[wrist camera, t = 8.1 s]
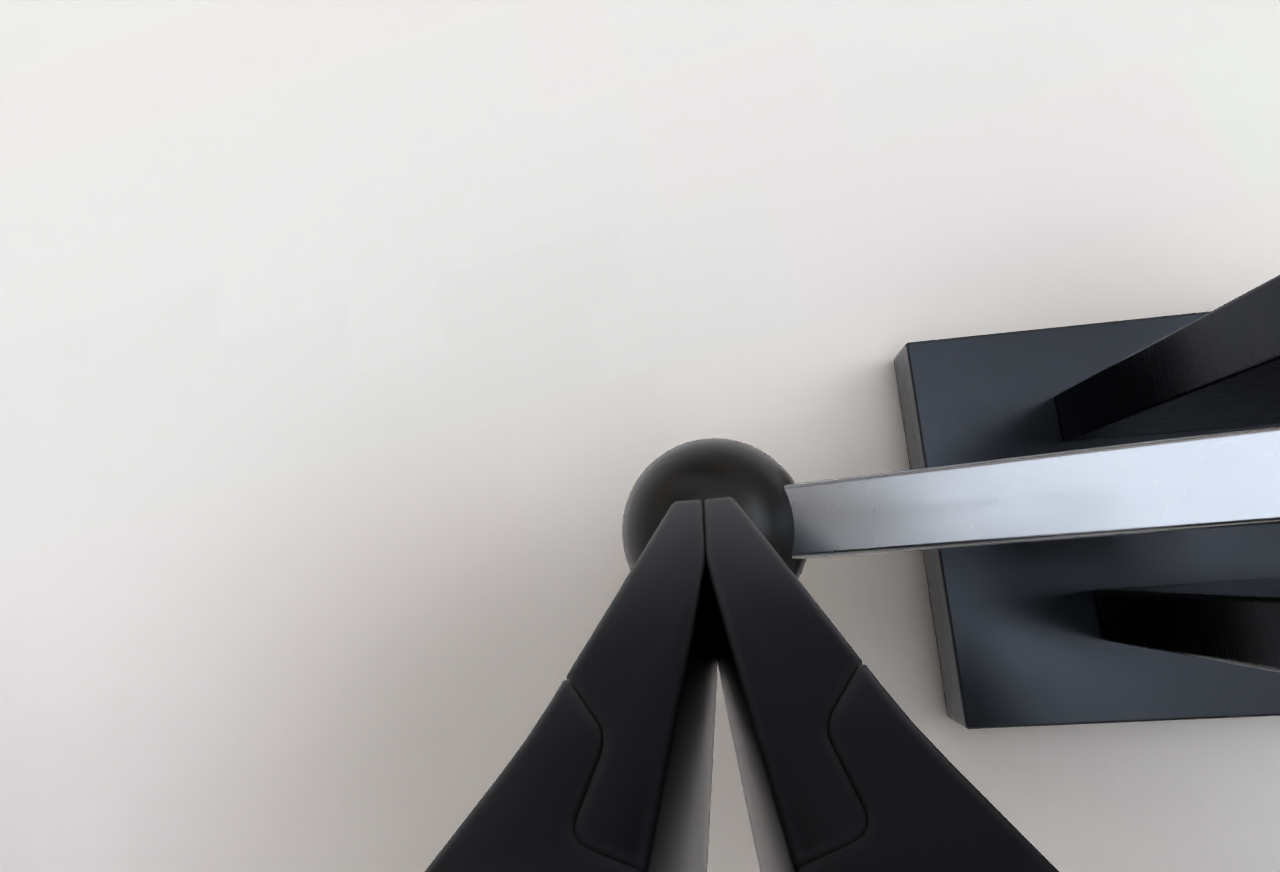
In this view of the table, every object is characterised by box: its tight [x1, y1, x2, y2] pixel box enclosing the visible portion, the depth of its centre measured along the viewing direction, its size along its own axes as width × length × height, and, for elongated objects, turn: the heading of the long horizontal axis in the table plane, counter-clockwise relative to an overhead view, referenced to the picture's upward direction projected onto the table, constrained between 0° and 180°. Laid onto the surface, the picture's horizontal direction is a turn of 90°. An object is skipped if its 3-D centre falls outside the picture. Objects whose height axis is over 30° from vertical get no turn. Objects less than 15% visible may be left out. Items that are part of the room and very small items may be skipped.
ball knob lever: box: [622, 426, 1280, 579], centre depth 9 cm, size 13×3×3 cm, turn 94°
